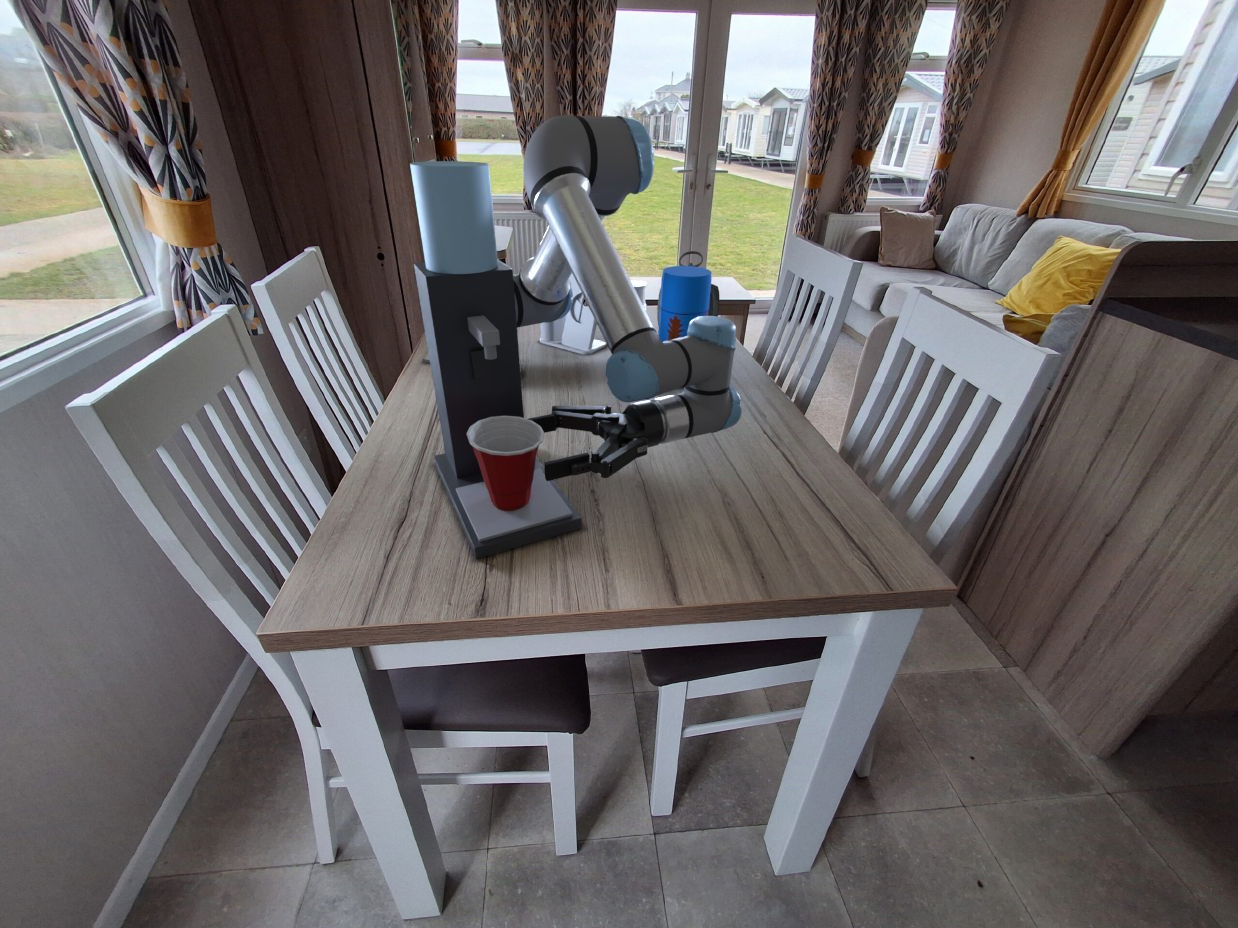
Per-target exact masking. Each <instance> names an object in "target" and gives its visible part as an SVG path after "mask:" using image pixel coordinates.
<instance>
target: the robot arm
mask: <svg viewBox="0 0 1238 928" xmlns="http://www.w3.org/2000/svg"><path fill="white" fill-rule="evenodd" d="M522 167H523V168H522V172H523V174H522V175H523V183H524V188H525V191H526V194H527V197H528V200H529V202H530V204H531V206H532V208H533V210H534V212H535V215H536V216H538V217H539V218H540V219H543V220H544V221H545V220H546V222H547V224H548V226H547V229H546V230H545V233H544V235H543V237H542V240H541V242H540V243H539V245H538V248H537V250H536V252H535V254H534V255H533V257H530V258H528V259H527V260H525V261H524V262H523V264H521V268H520V270H519V272H518V273H517V274H513V282H514V295H515V308H516V321H517V329H518V328H523V327H528V326H534V325H540V323H544V322H545V323H548V322H553V321H556V320H558V319H561V318H563V317H565V316H566V315H567V314H568V312H569V310H570V308H571V306H572V300H571V297H573V290H572V285H571V282H570V280H569V277H570V275H571V274H573V276H574V278H575V280H576V282H577V284H578V286H579V288H580V290H581V292H582V294H583V296H584V298H583V299H584V300H585V302H586V305H587V306H589V308H590V310H591V312H592V315H593V317H594V319H595V321H596V323H597V327H598V329H599V331H600V333H601V336H602V337H603V339H604V342H606V346H607V347H608V349H609V352H610V353H611V355H610V356H609V358H608V359H607V360H606V363H605V369H604V374H605V376H606V378H607V382H606V384H607V387H608V389H609V390H610V393H611V394H612V395H613V396H614V397H615V398H616V399H617V400H619V401H621V402H622V403H629V404H628V405H627V406H626V407H625V409H624V410H623V412H620V413H619V412H618V413H617V412H616V413H615V412H612V405H611V404H604V405H553V406H551V413H550V414H544V415H540V416H539V415H538V416H533V417H530V418H527V419H528V420H531V421H533V422H535V423H536V424H538V425H539V426H541V428H542V430H543V431H544V434H546V433H550V432H556V431H557V429H566V430H574V431H582V432H588V433H591V434H592V435H593V436H599V437H600V438H601V439H603V441H604V442H602V444H601V445H599V447H598V448H597V449H596V450H595V451H593V450H591V452H590V453H589V452H583V453H578V454H574V455H570V456H566V457H562V458H557V459H552V460H548V461H544V462H543V464H544V466H543V467H544V468H545V479H546V481H551V480H554V481H555V480H558V479H559V480H560V479H564V478H566V477H572V476H573V477H574V476H580V475H582V474H588V473H593V474H600V477H601V478H602V479H608V478H610V477H611V476H613V475H614V474H617V472H619V471H620V470H622V469H623V468H624V467H626V466H627V465H629V464H630V463H631V462H633V461H635V460H636V459H637V458H641V457H644V456H647V455H648V448H652V447H657V446H659V445H663V444H668V443H671V442H672V443H673V442H676V441H679V440H685V439H689V438H694V437H698V436H703V435H706V434H714V433H718V432H721V431H723V430H727V429H729V428H732V427H733V426H735V425H737V423H738V422H739V421H740V419H741V417H742V413H743V406H742V405H741V401H742V399H741V395H740V394H739V393H738V391H737V389H735V387H733V386H732V385H731V380H732V379H731V378H732V371H733V365H734V357H735V351H736V348H737V346H736V339H737V326H736V325H735V323H734V322H733V321H732V320H730V319H728V318H726V317H722V316H718V317H717V316H700V317H696V318H694V319H693V320H691V321H690V323H689V327H688V331H687V336H685V337H681V338H677V339H673V340H668V341H665V342H662V341H661V339H660V337H659V335H658V331H657V330H656V328H655V326H654V324H653V323H652V322H653V321H652V320H651V318H650V316H649V314H648V312H647V309H646V310H645V308H646V307H645V308H644V306H643V304H642V302H641V300H640V298H639V296H638V294H637V292H636V290H635V288H634V286H633V284H632V282H631V281H632V280H631V278H630V276H629V274H628V272H627V270H626V268H625V266H624V264H623V262H622V260H621V258H620V256H619V254H618V252H617V250H616V248H615V246H614V244H613V242H612V240H611V238H610V235H609V234H608V232H607V230H606V228H605V226H604V223H603V220H604V218H605V217H608V216H609V217H610V216H612V215H614V214H616V213H617V212H618V211H619V210H620V207H621V206H622V205H623V203H624V201H625V200H626V199H627V196H628V195H630V194H633V195H638V194H639V193H642V192H644V191H646V189H648V187H649V186H650V184H651V182H652V179H653V176H654V171H655V151H654V146H653V142H652V138H651V136H650V133H649V131H648V129H647V128H646V127H645V125H644V124H643V123H642V122H641V121H640V120H639V119H636V118H633V117H625V116H623V115H616V116H602V115H601V116H600V115H573V114H561V115H556V116H553V117H550V118H549V119H547V120H546V121H544V122H542V124H540V125H539V126H538V127H537V128H536V129H535V131H534V132H533V133H532V135H531V137H530V139H529V141H528V142H527V144H526V149H525V152H524V157H523V166H522ZM521 362H522V361H521V360H520V373H521V374H522V369H521V366H522V364H521ZM421 363H424V364H428V365H430V359H426V358H422V359H421ZM680 389H683V391H682V392H680V393H676V394H670V395H665V396H660V395H664V394H667V393H669V392H673V391H676V390H680ZM657 396H660V397H657Z"/></svg>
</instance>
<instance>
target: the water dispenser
mask: <svg viewBox="0 0 1238 928" xmlns="http://www.w3.org/2000/svg"><path fill="white" fill-rule="evenodd" d="M409 166H410V172H411V179H412V185H413V191H414V200H415V205H416V211H417V218H418V224H419V230H420V237H421V245H422V251H423V257H424V262H416V263H415V262H414V263H413V267H414V273H415V279H416V285H417V292H418V298H419V304H420V309H421V310H420V311H421V315H422V322H423V329H424V335H425V339H426V345H427V352H428V358H429V359H428V360H430V364H429V365H430V370H431V371H430V372H431V376H432V380H433V381H432V382H433V390H434V395H435V401H436V406H437V412H438V419H439V424H440V431H441V436H442V443H443V449H444V453H441V454H435V455H433V461H434V466H435V468H436V470H437V473H438V475H439V478H440V480H441V482H442V484H443V487H444V489H445V491H446V493H447V496H448V498H449V500H450V503H451V505H452V507H453V510H454V512H455V514H456V516H457V519H458V521H459V524H460V526H461V528H462V531H463V532H464V535H465V537H466V540H467V542H468V544H469V547H470V549H471V551H472V554H473V556H474V558H475V559H476V560H479V559H482V558H486V557H489V556H492V555H496V554H499V553H502V552H506V551H509V550H513V549H517V548H520V547H523V546H526V545H530V544H533V543H538V542H541V541H543V540H547V539H551V538H554V537H557V536H561V535H565V534H567V533H572V532H575V531H579V530H581V529H582V528H583V527H582V524H583V522H582V521H583V519H582V517H581V515H580V514H579V512H578V511H577V510H576V508H575V507H574V505H573V504H572V503H571V502H570V500H569V499H568V498H567V496H566V495H565V494H564V493H563V491H562V490H561V488H560V487H559V486H558V484H557V483H556V481H555V480H551V481H546V479H545V467H544V466H543V464H542V462H541V461H540V460H539V458H538V457H537V456H536V462H535V469H534V477H533V482H532V488H531V496H530V499H529V503H528V504H527V505H526V506H524V507H522V508H520V509H517V510H513V511H504V510H500V509H497V508H496V507H495V506H493V503H492V502H491V499H490V496H489V493H488V489H487V488H486V485H485V482H484V479H483V476H482V472H481V469H480V466H479V463H478V459H477V457H476V455H475V452H474V449H473V447H472V445H471V444H470V443H469V440H468V437H467V432H468V430H469V428H470V426H472V425H473V424H475V423H476V422H478V421H479V420H483V419H486V418H489V417H496V416H515V417H521V418H525V414H524V403H523V402H524V401H523V400H524V399H523V390H522V389H523V388H522V376H521V375H522V372H521V373H520V361H521V359H520V347H519V336H518V328H517V321H516V308H515V295H514V282H513V275H514V269H512V268H511V266H508V265H507V264H506V263H504V262H502V261H501V260H499V258H498V251H497V238H496V227H495V218H494V217H495V216H494V206H493V194H492V193H493V192H492V184H491V172H490V164H489V163H488V162H480V161H462V160H461V161H457V160H456V161H455V160H453V161H452V160H447V161H446V160H437V161H435V160H434V161H433V160H432V161H431V160H430V161H429V160H428V161H416V162H410V163H409Z"/></svg>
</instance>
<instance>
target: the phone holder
mask: <svg viewBox="0 0 1238 928" xmlns="http://www.w3.org/2000/svg"><path fill="white" fill-rule="evenodd" d="M569 280H570V282H571V285H572V290H573V297H571V300H572V306H571V308H570V310H569V312H568V314H567V315H566V316H565V317H563V318H561V319H558V320H556V321H553V322H548V323H545V322H544V323H539V327H540V338H539V343H540V344H544V345H547V346H551V347H554V348H558V349H561V350H565V351H569V352H573V353H576V354H580V355H584V356H586V355H590V354H593V353H596V351H599V350H601V349H603V348H606V347H607V343H606V341H603V340H600V339H596V338H595V335H596V330H597V327H598V325H597V323H596V321H595V319H594V317H593V315H592V312H591V310H590V308H589V306H588V305H587V306H585V305H584V303H583V300H584V299H585V298H584V296H583V294H582V292H581V290H580V288H579V286H578V284H577V282H576V280H575V278H574V276H573V274H571V275H570V277H569Z"/></svg>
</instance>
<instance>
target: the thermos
mask: <svg viewBox="0 0 1238 928" xmlns="http://www.w3.org/2000/svg"><path fill="white" fill-rule="evenodd" d="M711 284H712V271H711V270H710V269H707V268H705V267H700V266H698V267H694V265H693V266H689V265H684V266H680V265H673V266H667V267H664V268H663V269H662V275H661V282H660V288H661V296H660V313H659V326H658V331H657V334H658V335H659V337H660V339H661V341H662V342H665V341H668V340H673V339H677V338H681V337H685V336H687V331H688V327H689V323H690V321H691V320H693V319H694V318H696V317H700V316H708V308H709V299H710V290H711Z"/></svg>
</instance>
